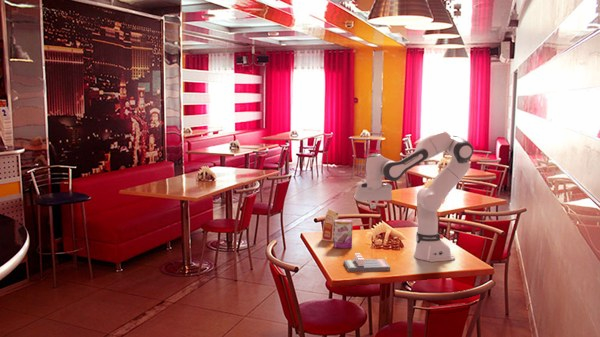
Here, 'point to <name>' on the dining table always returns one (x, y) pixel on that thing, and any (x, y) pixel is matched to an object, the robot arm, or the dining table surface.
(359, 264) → the handle
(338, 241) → the candy bar box
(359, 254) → the handle back
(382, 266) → the breaker panel
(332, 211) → the milk carton
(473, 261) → the dining table surface
